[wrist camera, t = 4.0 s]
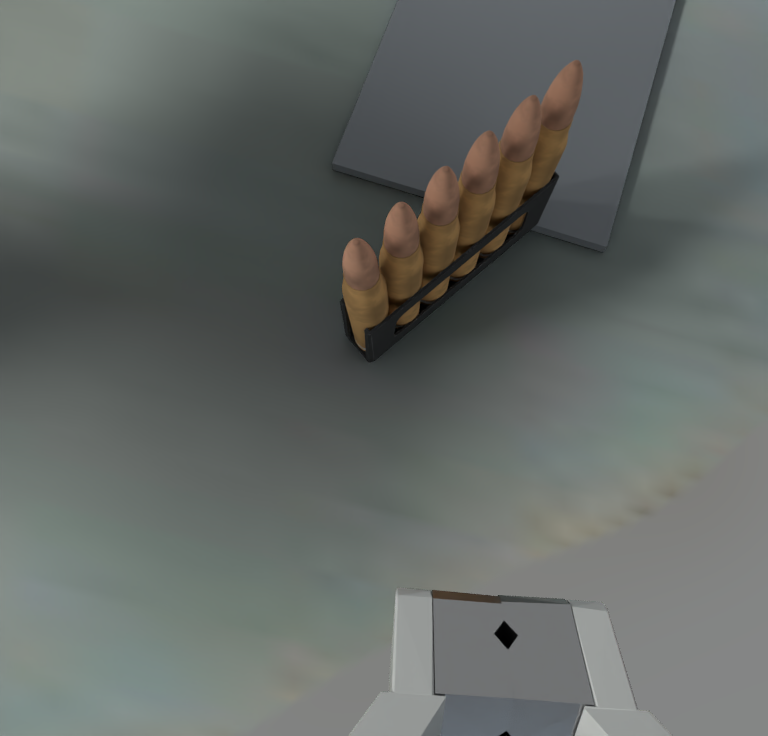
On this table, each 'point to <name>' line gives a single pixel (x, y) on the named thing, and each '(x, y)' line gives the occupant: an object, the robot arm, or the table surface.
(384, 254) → the ammunition clip
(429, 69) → the rubber mat
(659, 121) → the table surface
